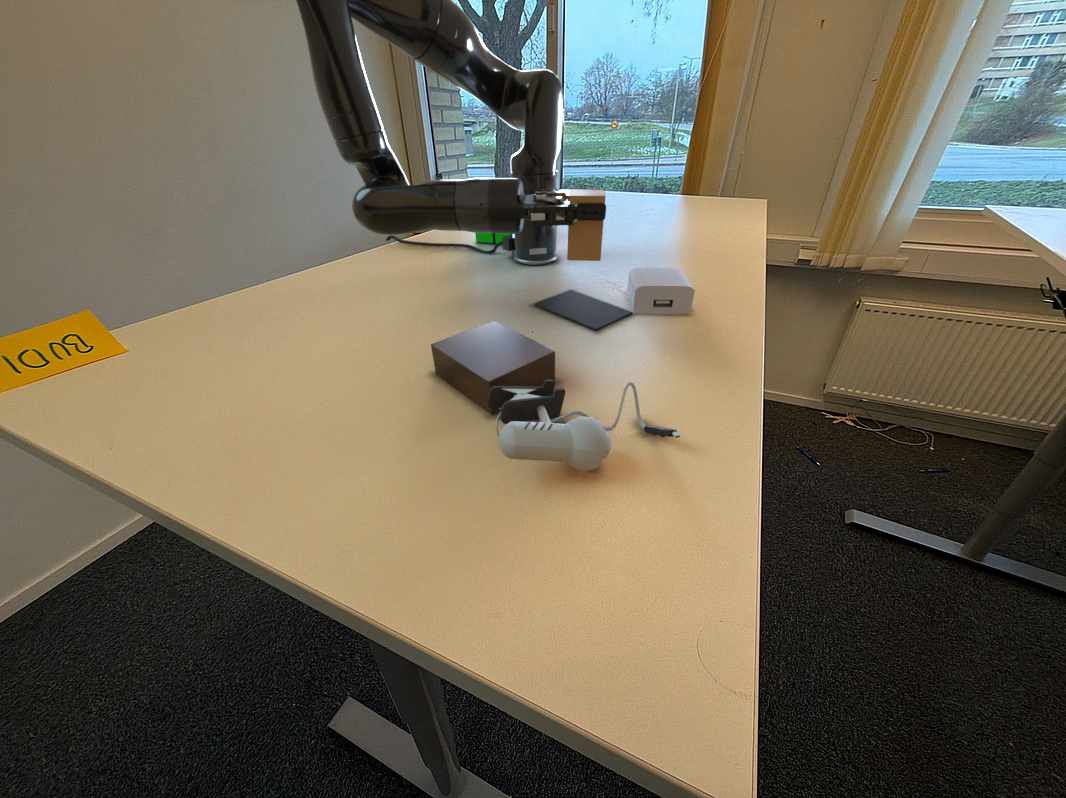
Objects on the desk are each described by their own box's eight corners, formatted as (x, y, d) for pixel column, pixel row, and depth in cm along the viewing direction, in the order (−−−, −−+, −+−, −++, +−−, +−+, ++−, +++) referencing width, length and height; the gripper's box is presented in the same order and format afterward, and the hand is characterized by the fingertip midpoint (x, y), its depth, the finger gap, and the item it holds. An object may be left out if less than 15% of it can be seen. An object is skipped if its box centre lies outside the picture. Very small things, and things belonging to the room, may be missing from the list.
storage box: (435, 374, 57) (430, 344, 54) (496, 349, 62) (494, 320, 60) (491, 415, 49) (488, 381, 47) (555, 382, 55) (555, 350, 52)
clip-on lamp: (631, 422, 53) (483, 412, 48) (647, 374, 50) (491, 359, 45) (677, 484, 43) (496, 480, 38) (701, 429, 40) (507, 417, 35)
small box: (567, 260, 66) (569, 195, 61) (568, 250, 70) (570, 189, 65) (600, 261, 66) (605, 196, 60) (599, 251, 70) (604, 189, 65)
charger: (672, 282, 83) (690, 314, 71) (623, 281, 84) (632, 313, 71) (676, 257, 80) (695, 286, 68) (625, 256, 81) (635, 285, 69)
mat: (534, 305, 75) (534, 303, 75) (570, 291, 80) (570, 289, 80) (595, 331, 66) (596, 329, 66) (632, 314, 71) (632, 312, 71)
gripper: (478, 186, 57) (609, 187, 56) (497, 171, 69) (606, 171, 67) (482, 245, 61) (604, 247, 60) (499, 221, 73) (602, 223, 72)
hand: (604, 207), depth 64 cm, fingers closed on small box, 5 cm apart
